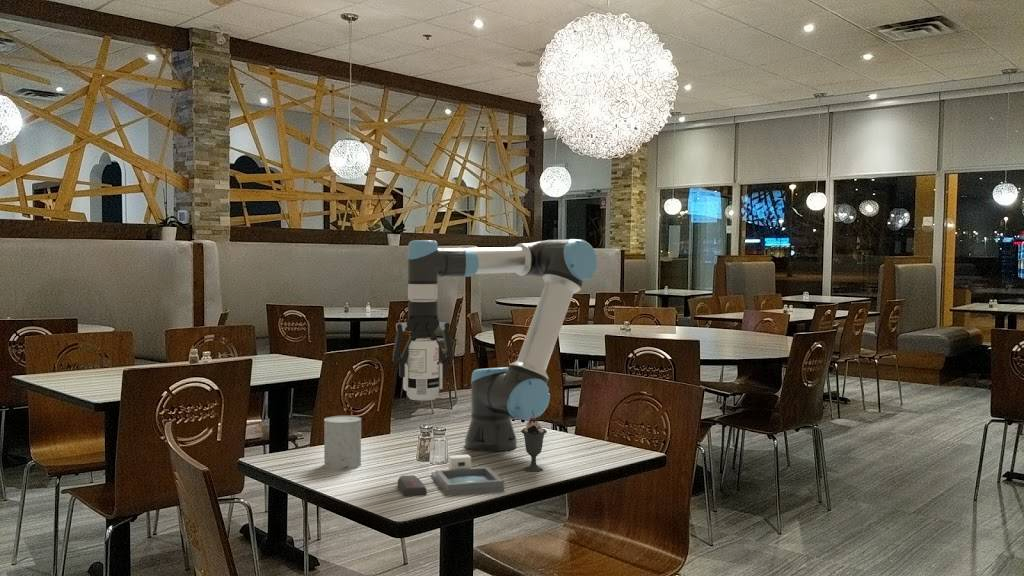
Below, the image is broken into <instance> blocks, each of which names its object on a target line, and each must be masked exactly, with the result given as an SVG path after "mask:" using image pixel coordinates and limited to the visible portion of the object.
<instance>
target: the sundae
mask: <svg viewBox="0 0 1024 576" xmlns="http://www.w3.org/2000/svg"><path fill="white" fill-rule="evenodd" d="M532 413H533V411H532ZM533 414H534V413H533ZM520 432H521V434H523V436H524V444H525V451H526V453H527V454H528V455H529V456H530V457H531V458H530V460H531V461H530V465H529V466H525V467H524V468H523V470H524V471H526V472H529V473H537V472H542V471H543V470H544V468H543V467H541V466H539V465H537V457H538V456H539V455H540V454H541V453H542V449H543V443H544V437H545V435H546V434H547V433H548V431H547V429H545V428H543V427H541V425H540V423H539V422H538V421H537V419H536V418H535V416H534V418H533V416H532V418H530V420H528V422H527V423H526V426H525V427H524V428H523V429H522V430H521V431H520Z"/></svg>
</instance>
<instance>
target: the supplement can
mask: <svg viewBox="0 0 1024 576" xmlns="http://www.w3.org/2000/svg"><path fill="white" fill-rule="evenodd" d="M439 363H440V359H439V345H438V343H437V341H436V340H434V341H432V340H431V339H430V338H428V337H419V338H416V340H415V341H411V343H410V345H409V355H408V358H407V360H406V364H407V365H408V391H406V396H407V398H408V399H409V400H413V401H433V400H436V399H437V398H438V397H439V396H440V389H439Z"/></svg>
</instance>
